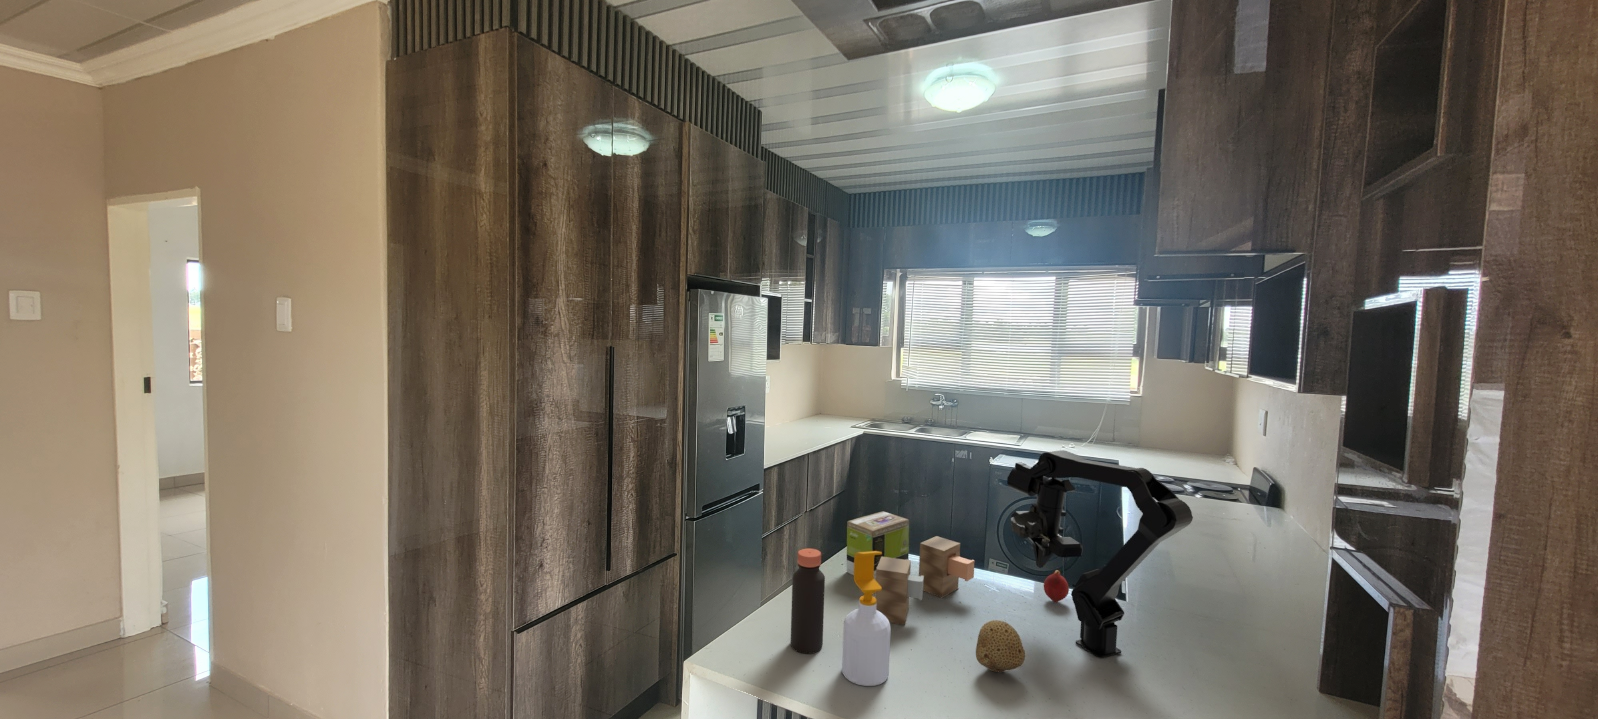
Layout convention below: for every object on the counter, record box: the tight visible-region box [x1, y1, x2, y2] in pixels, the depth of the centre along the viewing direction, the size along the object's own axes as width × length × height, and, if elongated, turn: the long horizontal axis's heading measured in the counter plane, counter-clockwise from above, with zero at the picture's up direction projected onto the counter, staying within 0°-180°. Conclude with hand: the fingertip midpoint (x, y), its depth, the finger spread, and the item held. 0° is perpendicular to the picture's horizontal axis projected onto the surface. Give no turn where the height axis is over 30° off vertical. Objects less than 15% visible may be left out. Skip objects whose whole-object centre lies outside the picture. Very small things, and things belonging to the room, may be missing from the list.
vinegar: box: [790, 547, 826, 654], centre depth 125 cm, size 7×7×20 cm
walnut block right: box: [918, 535, 961, 598], centre depth 155 cm, size 7×8×12 cm
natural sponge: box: [975, 619, 1026, 673], centre depth 118 cm, size 9×9×10 cm
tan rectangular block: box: [947, 554, 976, 582], centre depth 152 cm, size 8×3×4 cm, turn 46°
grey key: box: [907, 574, 924, 601], centre depth 139 cm, size 8×3×4 cm, turn 74°
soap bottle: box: [841, 551, 892, 687], centre depth 116 cm, size 9×9×25 cm
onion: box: [1043, 569, 1070, 603], centre depth 150 cm, size 6×6×8 cm
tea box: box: [846, 510, 910, 581], centre depth 165 cm, size 15×10×15 cm, turn 130°
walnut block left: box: [874, 557, 912, 626], centre depth 140 cm, size 7×8×12 cm
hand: (1039, 566), depth 141 cm, fingers closed
